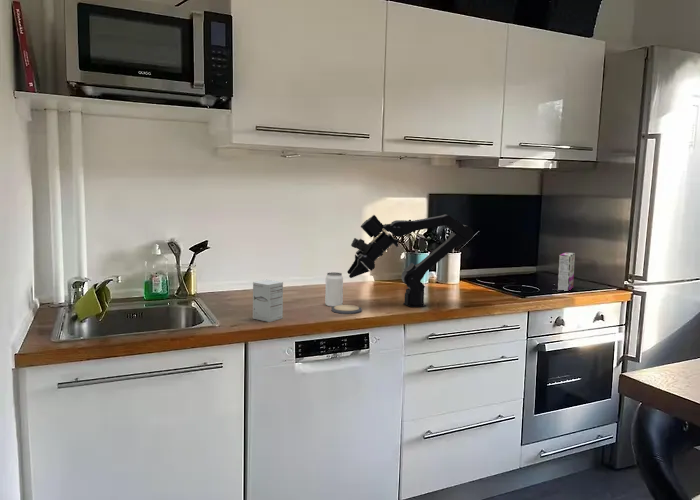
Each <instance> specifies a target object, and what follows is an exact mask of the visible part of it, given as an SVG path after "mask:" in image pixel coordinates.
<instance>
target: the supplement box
mask: <svg viewBox="0 0 700 500" xmlns="http://www.w3.org/2000/svg"><path fill="white" fill-rule="evenodd" d="M283 293H284V281H278V280H272V279H261V280H258V281H253V282H252V319H253V320H258V321H263V322H266V323H271V322H274V321H279V320H282V319H283V310H284V308H283V307H284V305H283V303H284V301H283V300H284V298H283V297H284V294H283Z"/></svg>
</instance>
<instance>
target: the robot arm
mask: <svg viewBox="0 0 700 500" xmlns="http://www.w3.org/2000/svg"><path fill="white" fill-rule="evenodd" d="M438 227H446V228H447V229H449V231H451V233H450V234H449V236H448V238H447V239H446V240H445V241H443V242H442V243H441V244H440V245H439V246H438V247H436V249H434V250H433V251H432V252H430V253H429V254H428V255H427V256H426V257H425V258H423V259H422V260H421V261H419V262H418V263H417V264H414V263H413V262H411V263H410V264H409V265H408V266H407V267H405V268H403V272H401V280H402V282H403V283H404V284H405V286H406V287H407V288H406V289H405V293H404V302H403V305H405V306H408V307H410V308H418V307H426V306H427V305H426V304H425V287H426V285H425V284H424V283H422V279H423V278H424V276H425V275H426V274H427V272H429V270H430V269H431V268H433V267H434V266H435V265H437V263H439V262H440V261H441V260H442V259H443V258H445V257H446V256H447V255H448V254H450V252H452V251H453V250H454V249H455V248H457V247H459V246H460V247H461V246H462V245H464V244H465V243H468V242H469V241H471V240H472V239H473V238H474V230H473V228H472V227H470V226H468V225H465V224H462V223H461V222H459V221H457V220H456V219H455V218H453V217H452V216H451V215H450V214H442V215H437V216H431V217H427V218H425V217H424V218H421V219H420V218H419V219H413V220H404V219H403V220H393V221H391V223H385V224H383V223H382V222H381V221H380V220H379V218H378V217H377V216H376V215H375V214H373V215H371V216H370V217H369V218H368V219H366V220H364V222H362V224H361V225H360V228H361V229H362V231H364V233H366V234H367V235H368V237H369V238H375V239H374V240H373V241H372V242H369V243H367V242H365V240H364V239H362V238H360V239H358V238H356V237H354V238H353V240H352V242H351V245H350V246H351V247H352V248H354V249H357V251H356V252H355V254H354V261H353V262H352V264H351V266H350V267H349V268H348V270H347V274H348V278H350V279H353V278H356V277H357V276H360V275H363V274H365V273H369V272H370V271H371V272H372V271H373V270H374V269H375V268H376V264H375V263H376V262H375V261H377V260H378V258H380V257H382V256H383V255H384V253H385V252H386V251H387V250H388V249H390V248H391V246H393V245H394V246H395V247H396V248H398V247H399V239H398V237H399V238H401V237H404V236H407V235H408V234H411V233H414V232H417V231H421V230H426V229H432V228H438ZM384 230H385V231H384ZM386 232H387V233H389V234H387V233H386ZM392 235H393V236H392ZM394 236H395V237H397V238H396V239H395V238H394Z"/></svg>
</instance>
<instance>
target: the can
mask: <svg viewBox="0 0 700 500" xmlns="http://www.w3.org/2000/svg"><path fill="white" fill-rule="evenodd" d="M343 294H344V276H343V273H342V272H333V271H332V272H327V273H326V276H325V298H324V299H325V300H324V301H325V302H324V303H325V305H326V306H327V307H331V308H332V307H334V306H338V305H343V299H344V297H343V296H344V295H343Z"/></svg>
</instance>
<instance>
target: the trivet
mask: <svg viewBox="0 0 700 500" xmlns="http://www.w3.org/2000/svg"><path fill="white" fill-rule="evenodd" d="M362 311H363V308H362V307H360V306H359V305H353V304H342V305H338V306H334V307H331V312H333V313H336V314H340V315H356V314H359V313H362Z"/></svg>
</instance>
